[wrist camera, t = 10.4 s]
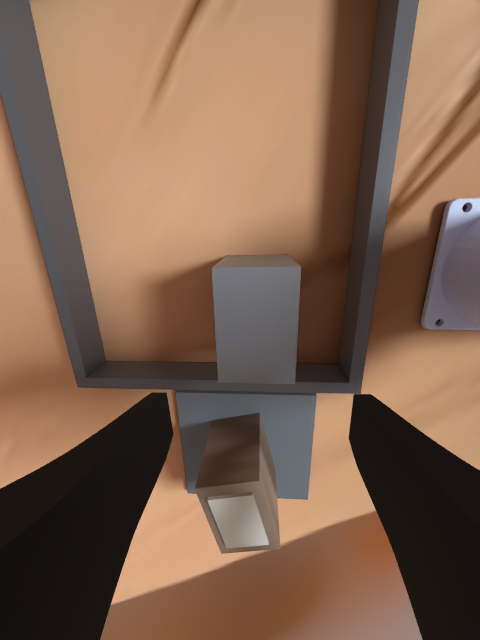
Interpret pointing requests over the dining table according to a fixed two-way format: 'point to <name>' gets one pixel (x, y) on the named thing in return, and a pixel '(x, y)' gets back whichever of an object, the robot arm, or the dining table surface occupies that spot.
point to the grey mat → (279, 424)
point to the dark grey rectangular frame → (65, 247)
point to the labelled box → (239, 485)
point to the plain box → (256, 318)
